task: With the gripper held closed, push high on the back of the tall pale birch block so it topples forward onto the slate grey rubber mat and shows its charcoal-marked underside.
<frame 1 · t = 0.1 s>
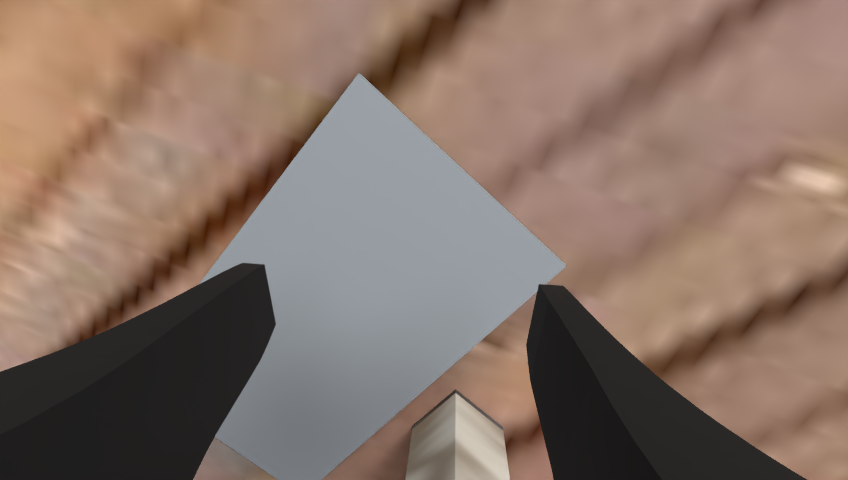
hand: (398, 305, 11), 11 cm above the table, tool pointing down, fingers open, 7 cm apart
birch block: (457, 426, 25), on the table
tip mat: (326, 325, 23), on the table
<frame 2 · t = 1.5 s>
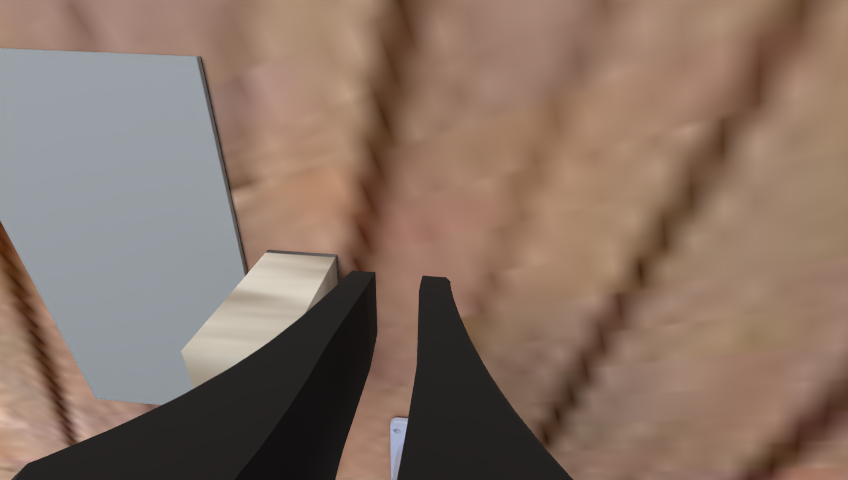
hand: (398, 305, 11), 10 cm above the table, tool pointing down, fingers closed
birch block: (306, 281, 23), on the table
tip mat: (136, 269, 24), on the table
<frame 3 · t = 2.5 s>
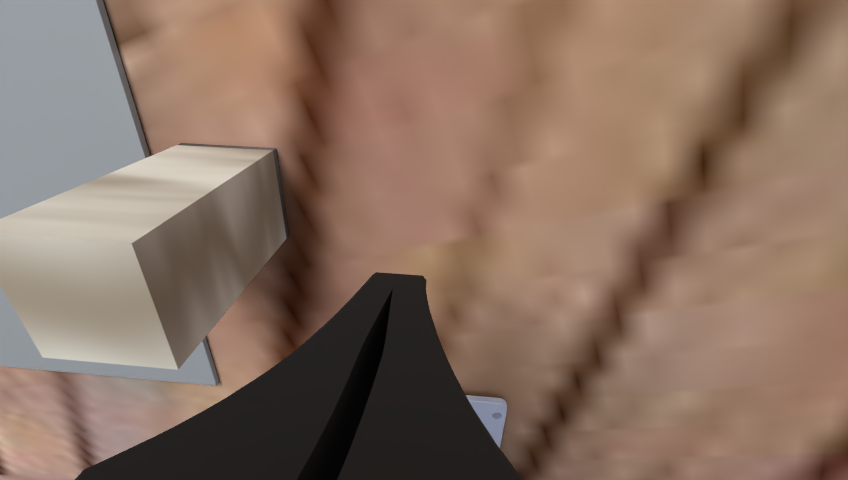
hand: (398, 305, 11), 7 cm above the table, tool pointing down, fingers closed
birch block: (237, 191, 17), on the table
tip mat: (10, 178, 18), on the table
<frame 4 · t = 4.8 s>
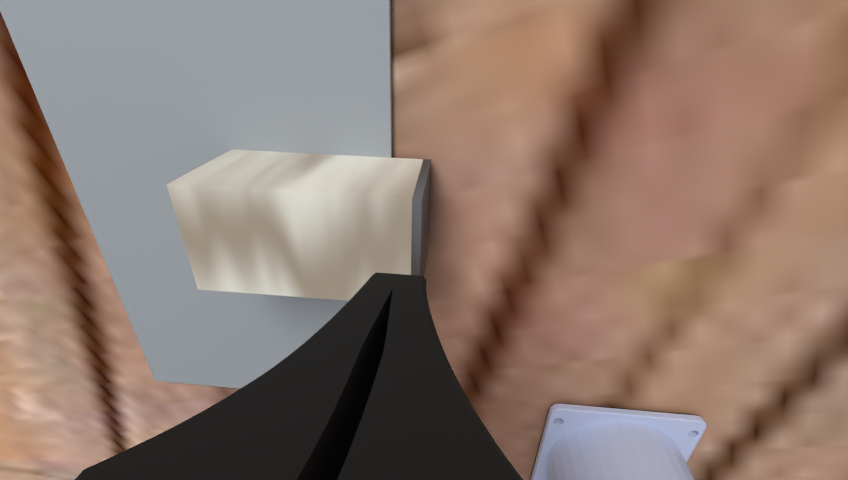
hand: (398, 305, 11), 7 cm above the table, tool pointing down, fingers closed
birch block: (425, 228, 15), point 2 cm above the table, tilted 90°, touching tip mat
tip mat: (232, 192, 17), on the table
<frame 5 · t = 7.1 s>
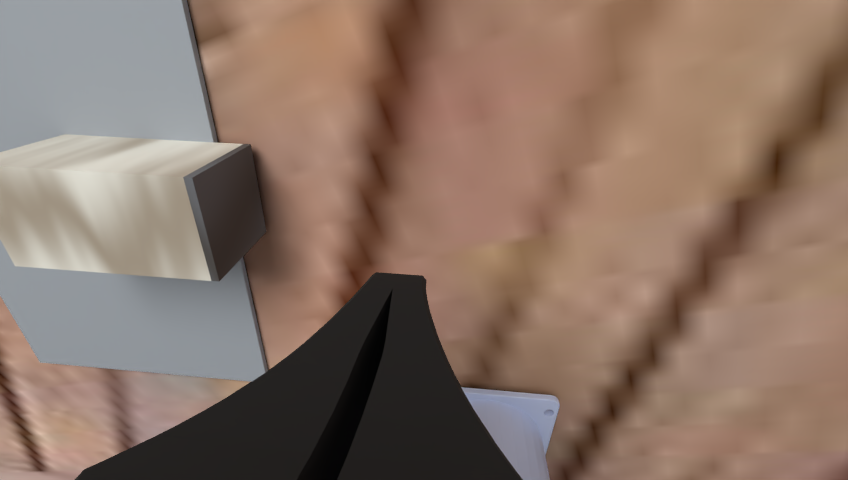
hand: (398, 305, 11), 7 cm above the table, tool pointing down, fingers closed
birch block: (235, 209, 15), point 2 cm above the table, tilted 90°, touching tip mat
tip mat: (76, 176, 18), on the table
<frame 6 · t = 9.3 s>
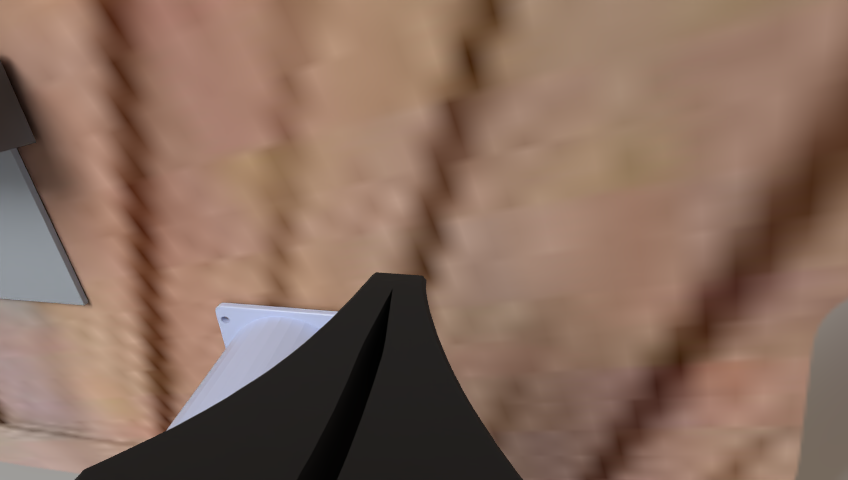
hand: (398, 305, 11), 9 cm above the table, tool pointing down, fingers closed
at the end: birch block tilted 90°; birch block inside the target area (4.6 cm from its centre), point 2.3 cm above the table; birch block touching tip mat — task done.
